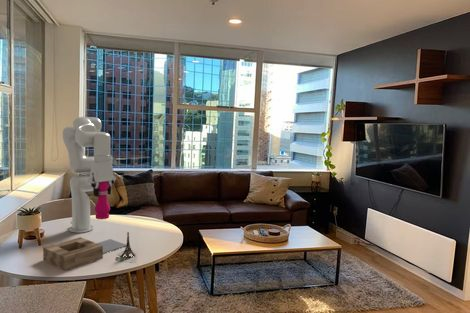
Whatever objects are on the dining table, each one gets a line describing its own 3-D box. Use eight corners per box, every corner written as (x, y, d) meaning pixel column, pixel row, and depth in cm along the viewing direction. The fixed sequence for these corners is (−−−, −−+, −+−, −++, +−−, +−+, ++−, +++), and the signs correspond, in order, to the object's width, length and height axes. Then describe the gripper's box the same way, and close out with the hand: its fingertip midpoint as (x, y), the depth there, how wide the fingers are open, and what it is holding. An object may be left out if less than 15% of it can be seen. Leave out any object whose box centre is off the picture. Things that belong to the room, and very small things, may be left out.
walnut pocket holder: (43, 260, 158) (43, 247, 158) (80, 248, 173) (80, 237, 172) (65, 270, 148) (64, 257, 147) (102, 258, 163) (102, 245, 162)
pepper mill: (94, 216, 176) (94, 176, 173) (109, 215, 178) (109, 176, 176) (94, 220, 169) (94, 179, 167) (110, 219, 172) (110, 178, 169)
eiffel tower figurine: (118, 252, 172) (117, 225, 171) (139, 251, 174) (139, 224, 173) (113, 264, 157) (113, 235, 156) (136, 263, 159) (136, 234, 158)
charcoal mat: (86, 247, 175) (86, 246, 175) (110, 239, 187) (110, 239, 187) (103, 254, 167) (103, 253, 167) (127, 246, 179) (127, 245, 179)
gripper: (113, 156, 179) (113, 191, 181) (81, 159, 166) (81, 196, 168) (122, 158, 175) (121, 193, 177) (90, 160, 161) (90, 199, 163)
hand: (102, 194), depth 172 cm, fingers closed on pepper mill, 5 cm apart
